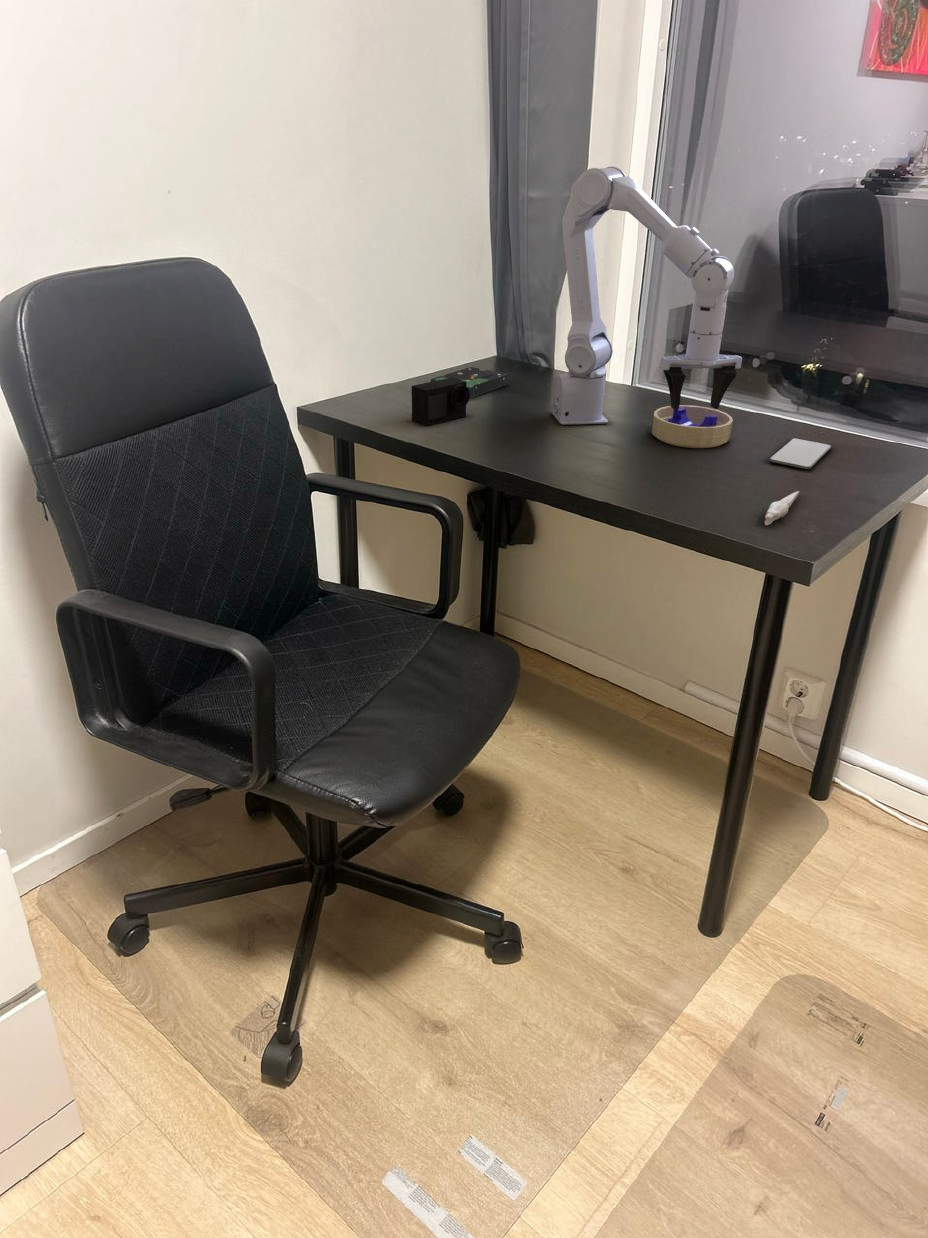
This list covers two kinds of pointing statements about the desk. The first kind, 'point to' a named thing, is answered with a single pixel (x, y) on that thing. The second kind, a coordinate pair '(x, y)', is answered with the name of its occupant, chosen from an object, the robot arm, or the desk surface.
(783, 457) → the smartphone
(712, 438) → the bowl
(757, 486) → the desk surface
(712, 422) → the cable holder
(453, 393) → the digital camera
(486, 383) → the disk drive
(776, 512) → the spindle seashell
